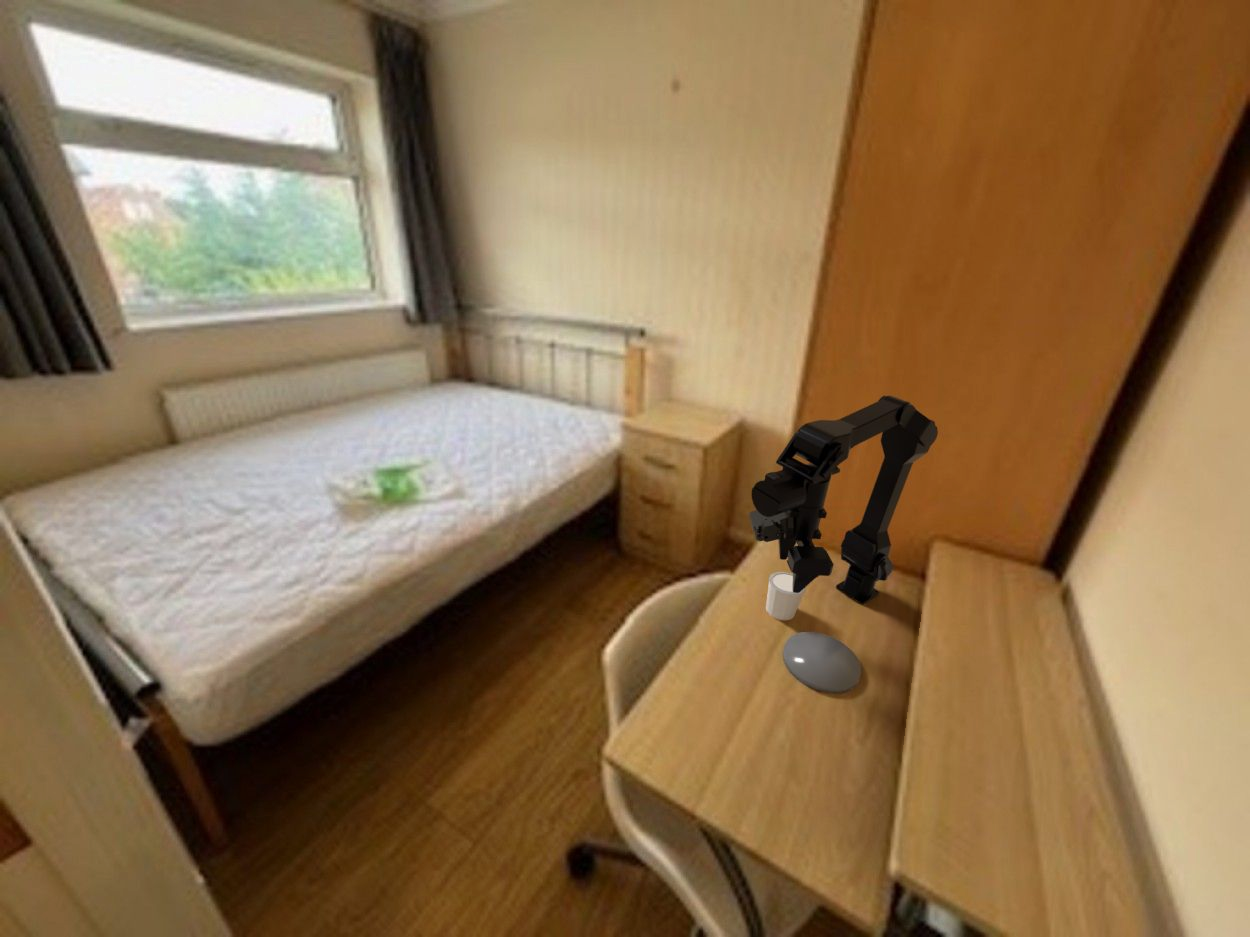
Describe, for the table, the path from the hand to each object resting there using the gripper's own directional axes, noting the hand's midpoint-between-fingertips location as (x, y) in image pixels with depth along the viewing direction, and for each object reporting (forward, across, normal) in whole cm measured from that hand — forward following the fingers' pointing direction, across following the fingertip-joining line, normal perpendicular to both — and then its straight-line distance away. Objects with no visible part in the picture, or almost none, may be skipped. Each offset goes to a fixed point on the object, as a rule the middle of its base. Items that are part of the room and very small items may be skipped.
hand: (789, 574), depth 97 cm
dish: (+13, +8, +6) cm, 16 cm away
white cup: (+13, -6, +2) cm, 15 cm away
